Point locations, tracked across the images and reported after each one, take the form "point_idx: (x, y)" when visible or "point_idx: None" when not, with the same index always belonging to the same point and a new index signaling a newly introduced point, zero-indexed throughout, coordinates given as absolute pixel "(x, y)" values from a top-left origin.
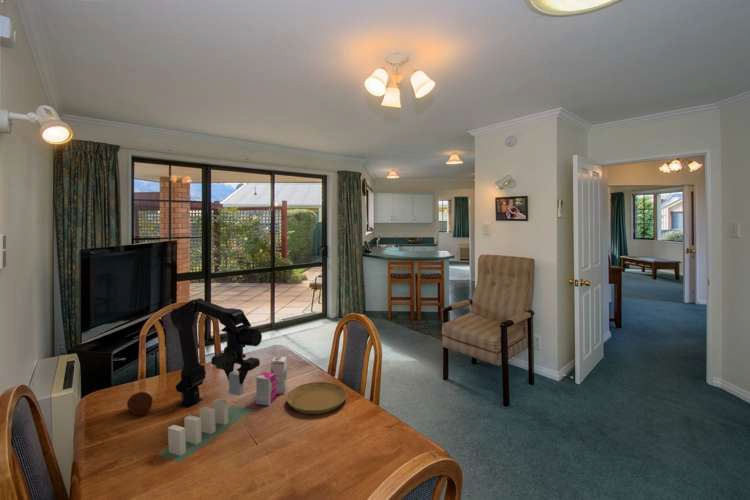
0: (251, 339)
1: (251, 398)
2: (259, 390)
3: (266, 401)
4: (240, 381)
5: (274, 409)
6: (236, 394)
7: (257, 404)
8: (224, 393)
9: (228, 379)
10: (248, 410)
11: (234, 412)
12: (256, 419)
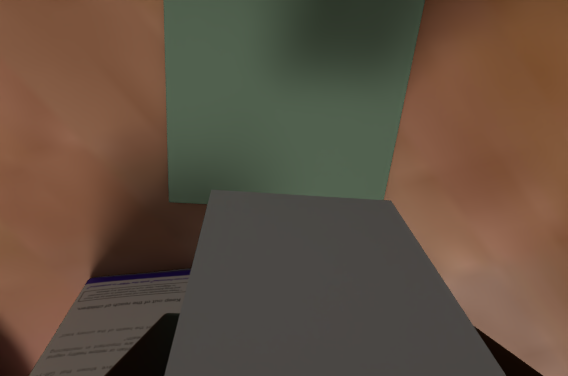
0: None
1: None
2: None
3: (94, 301)
4: (146, 357)
5: (17, 258)
6: (266, 197)
7: (187, 272)
8: (540, 326)
9: (507, 358)
10: (195, 183)
11: (290, 124)
12: (30, 92)
